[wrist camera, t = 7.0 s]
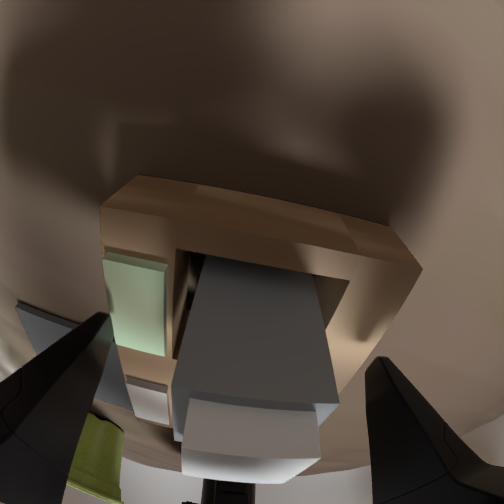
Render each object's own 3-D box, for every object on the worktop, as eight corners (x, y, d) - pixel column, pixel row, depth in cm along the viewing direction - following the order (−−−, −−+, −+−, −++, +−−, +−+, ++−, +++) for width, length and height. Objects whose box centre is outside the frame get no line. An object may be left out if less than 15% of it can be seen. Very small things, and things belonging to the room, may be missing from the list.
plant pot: (97, 436, 26) (81, 491, 19) (45, 396, 22) (20, 458, 14) (155, 444, 25) (142, 511, 17) (99, 403, 20) (74, 484, 13)
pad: (146, 408, 19) (145, 413, 19) (53, 376, 18) (51, 380, 18) (134, 340, 15) (131, 347, 14) (18, 302, 14) (15, 306, 13)
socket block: (291, 405, 18) (294, 447, 15) (147, 382, 17) (135, 424, 14) (390, 226, 11) (427, 276, 8) (137, 174, 10) (92, 212, 7)
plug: (281, 312, 13) (291, 486, 6) (204, 299, 13) (168, 474, 6) (305, 246, 11) (347, 451, 4) (214, 228, 11) (159, 436, 4)
